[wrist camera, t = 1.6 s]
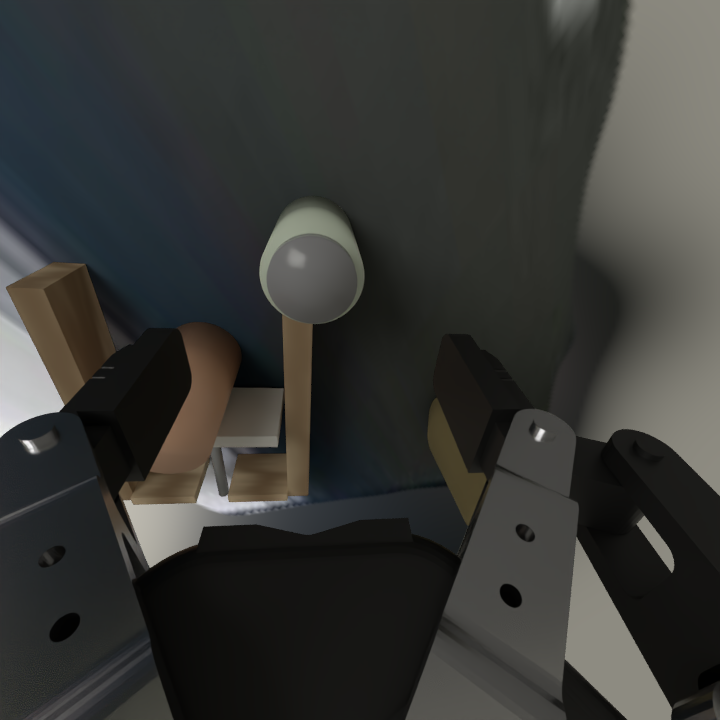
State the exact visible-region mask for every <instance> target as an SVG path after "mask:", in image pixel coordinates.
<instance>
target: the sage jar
mask: <svg viewBox="0 0 720 720" xmlns="http://www.w3.org/2000/svg"><path fill="white" fill-rule="evenodd" d="M260 282H261V285H262V289H263V291H264V293H265V295H266V297H267V299H268V300H269V302H270V303H271V304H272V305H273V306H274V307H275V308H276V309H277V310H278V311H279V312H280V313H282V314H283V315H285V316H286V317H288V318H290V319H292V320H295V321H298V322H302V323H307V324H321V323H327V322H330V321H333V320H336V319H338V318H340V317H341V316H343V315H344V314H346V313H347V312H348V311H349V310H350V309H351V308H352V307H353V306H354V305H355V304H356V302H357V301H358V299H359V297H360V295H361V292H362V289H363V285H364V267H363V262H362V259H361V256H360V253H359V249H358V246H357V243H356V240H355V236H354V233H353V230H352V227H351V224H350V221H349V219H348V217H347V215H346V214H345V212H344V211H343V210H342V209H341V208H340V207H339V206H338V205H337V204H336V203H334V202H332V201H331V200H329V199H326V198H323V197H319V196H305V197H302V198H299V199H296V200H295V201H293V202H291V203H290V204H289V205H288V206H287V207H286V208H285V209H284V210H283V212H282V213H281V215H280V217H279V219H278V221H277V223H276V226H275V228H274V230H273V232H272V235H271V237H270V239H269V242H268V244H267V246H266V248H265V251H264V253H263V255H262V259H261V262H260Z"/></svg>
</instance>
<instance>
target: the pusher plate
mask: <svg viewBox="0 0 720 720" xmlns="http://www.w3.org/2000/svg"><path fill="white" fill-rule="evenodd" d="M283 403H284V388H233V389H232V392H231V395H230V398H229V401H228V404H227V407H226V410H225V413H224V416H223V419H222V422H221V425H220V428H219V431H218V434H217V437H216V440H215V443H214V446H213V449H212V452H211V458H212V463H213V467H214V472H215V477H216V482H217V486H218V491H219V495H220V496H226V495H227V494H228V493H229V489H228V483H227V478H226V472H225V467H224V461H223V456H222V451H221V447H278V442H279V434H280V426H281V419H282V411H283Z"/></svg>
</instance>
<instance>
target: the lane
mask: <svg viewBox="0 0 720 720" xmlns="http://www.w3.org/2000/svg"><path fill="white" fill-rule="evenodd" d="M6 289H7V291H8V293H9V295H10V297H11V299H12V301H13V303H14V305H15V307H16V309H17V311H18V313H19V315H20V317H21V319H22V321H23V323H24V325H25V327H26V329H27V331H28V333H29V335H30V337H31V339H32V341H33V343H34V345H35V347H36V349H37V351H38V353H39V355H40V357H41V359H42V361H43V363H44V365H45V367H46V369H47V371H48V373H49V375H50V377H51V379H52V381H53V383H54V385H55V387H56V389H57V391H58V393H59V395H60V397H61V399H62V401H63V403H64V405H66V404H67V403H68V402H69V401H70V400H71V399H72V397H73V396H74V395H75V394H76V393H77V392H78V391H79V390H80V389H81V388H82V387H83V386H84V384H85V383H86V382H87V381H88V380H89V379H92V376H93V375H94V374H95V372H96V371H97V370H98V369H101V366H102V365H103V364H104V363H105V362H106V361H107V359H108V358H109V357H110V356H111V355H112V354H114V353H116V350H115V347H114V344H113V341H112V338H111V336H110V333H109V330H108V327H107V324H106V321H105V319H104V316H103V313H102V310H101V307H100V304H99V301H98V299H97V296H96V293H95V290H94V287H93V284H92V281H91V279H90V276H89V273H88V270H87V267H86V264H76V263H59V262H53V263H51V264H49V265H48V266H46V267H44V268H42V269H40V270H38V271H36V272H34V273H32V274H30V275H28V276H26V277H24V278H22V279H20V280H18V281H17V282H15V283H13V284H11V285H9V286H7V287H6ZM282 319H283V353H284V386H285V420H286V454H238V456H237V460H236V464H235V468H234V472H233V477H232V481H231V485H230V489H229V493H228V500H229V502H251V501H287V499H288V496H307V495H308V484H309V450H310V410H311V370H312V330H313V324H307V323H302V322H298V321H295V320H292V319H290V318H288V317H286V316H285V315H283V314H282ZM209 462H210V459H209V458H208V460H207V461H206V462H205V463H204V464H202V465H201V466H199V467H198V468H196V469H194V470H191V471H187V472H183V473H175V474H163V473H155V472H149V474H148V476H147V478H146V480H145V481H134V482H125V483H124V484H123V486H122V488H121V490H120V492H119V493H120V495H121V497H122V499H123V500H131V501H132V503H133V504H134V505H139V504H175V503H196V501H197V498H198V495H199V492H200V489H201V486H202V483H203V480H204V477H205V474H206V471H207V468H208V465H209Z"/></svg>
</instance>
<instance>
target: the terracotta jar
mask: <svg viewBox="0 0 720 720" xmlns="http://www.w3.org/2000/svg"><path fill="white" fill-rule="evenodd" d="M176 329H178V330H179V331H180V332H181V334H182V337H183V341H184V345H185V349H186V353H187V357H188V361H189V365H190V369H191V374H192V384H191V389H190V392H189V394H188V396H187V398H186V400H185V402H184V404H183V406H182V408H181V410H180V412H179V414H178V416H177V418H176V420H175V422H174V424H173V426H172V428H171V430H170V432H169V434H168V436H167V438H166V440H165V442H164V444H163V446H162V448H161V450H160V452H159V454H158V456H157V458H156V460H155V462H154V464H153V466H152V468H151V470H150V472H155V473H163V474H175V473H183V472H187V471H191V470H194V469H196V468H198V467H199V466H201V465H202V464H204V463H205V462H206V461H207V460H208V458H209V457H210V455H211V452H212V449H213V446H214V443H215V440H216V437H217V434H218V431H219V428H220V425H221V422H222V419H223V416H224V413H225V410H226V407H227V404H228V401H229V398H230V395H231V392H232V389H233V386H234V383H235V380H236V377H237V374H238V371H239V368H240V364H241V361H242V353H241V349H240V346H239V344H238V343H237V341H236V340H235V339H234V337H233V336H232V335H231V334H229V333H228V332H227V331H225V330H224V329H222V328H220V327H218V326H216V325H213V324H209V323H204V322H192V323H187V324H184V325H181V326H179V327H178V328H176Z"/></svg>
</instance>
